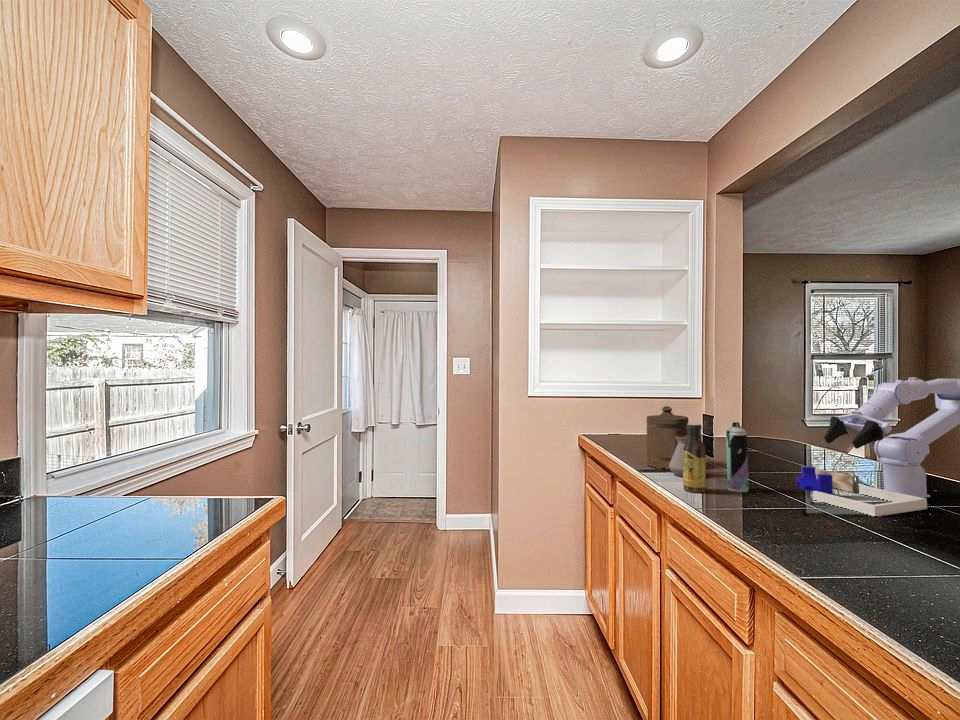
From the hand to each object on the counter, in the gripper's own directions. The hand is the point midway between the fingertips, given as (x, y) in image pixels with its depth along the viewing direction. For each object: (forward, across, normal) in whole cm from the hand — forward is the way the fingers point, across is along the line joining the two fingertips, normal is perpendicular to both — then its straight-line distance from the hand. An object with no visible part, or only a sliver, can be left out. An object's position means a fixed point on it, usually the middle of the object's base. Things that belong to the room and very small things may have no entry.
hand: (840, 442), depth 133 cm
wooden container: (+18, -58, +10) cm, 62 cm away
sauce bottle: (+31, -24, 0) cm, 39 cm away
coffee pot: (+23, -38, +6) cm, 45 cm away
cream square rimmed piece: (+5, +4, +16) cm, 17 cm away
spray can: (+21, -20, +6) cm, 30 cm away
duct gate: (-2, -14, +20) cm, 25 cm away
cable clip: (+5, -11, +16) cm, 21 cm away
